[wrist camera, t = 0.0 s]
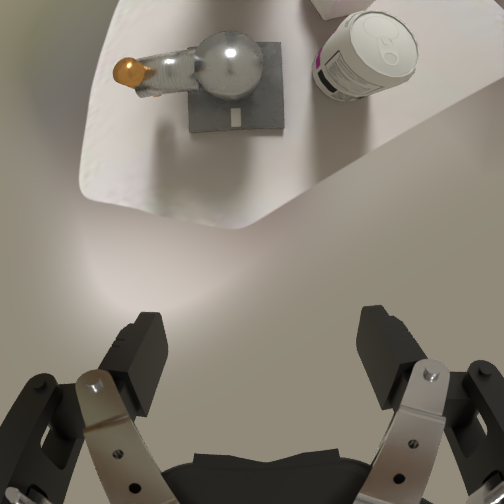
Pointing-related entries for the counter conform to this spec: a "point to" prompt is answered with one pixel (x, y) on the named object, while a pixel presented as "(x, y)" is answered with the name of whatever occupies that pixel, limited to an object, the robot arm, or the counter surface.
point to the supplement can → (365, 56)
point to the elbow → (197, 68)
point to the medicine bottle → (340, 7)
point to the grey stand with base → (243, 100)
